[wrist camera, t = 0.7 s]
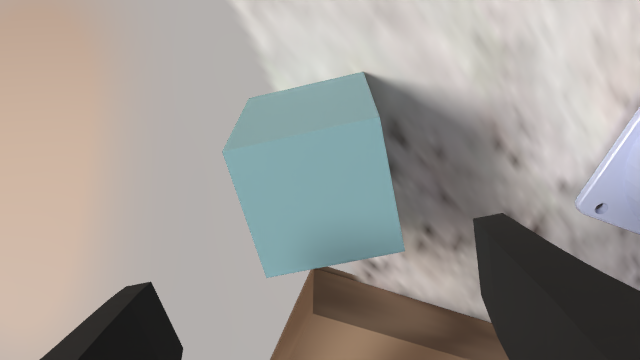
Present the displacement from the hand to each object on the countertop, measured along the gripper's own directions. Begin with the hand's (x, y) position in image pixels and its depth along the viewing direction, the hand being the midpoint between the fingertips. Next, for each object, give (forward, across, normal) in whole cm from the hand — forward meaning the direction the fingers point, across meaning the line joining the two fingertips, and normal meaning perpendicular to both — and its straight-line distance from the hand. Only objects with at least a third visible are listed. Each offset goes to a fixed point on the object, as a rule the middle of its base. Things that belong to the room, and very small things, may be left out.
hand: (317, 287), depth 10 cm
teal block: (+10, 0, 0) cm, 10 cm away
